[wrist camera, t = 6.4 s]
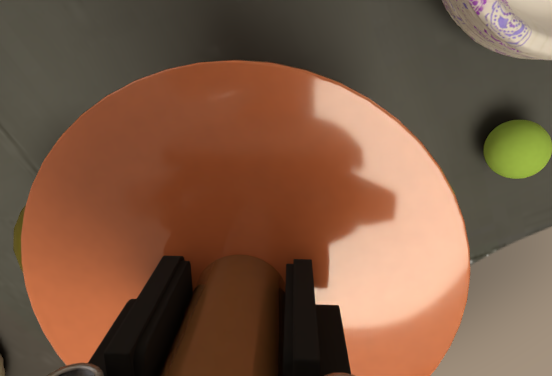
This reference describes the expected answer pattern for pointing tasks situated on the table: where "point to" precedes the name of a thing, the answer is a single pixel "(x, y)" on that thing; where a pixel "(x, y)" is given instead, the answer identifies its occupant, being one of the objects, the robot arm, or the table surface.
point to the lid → (247, 220)
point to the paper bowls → (507, 25)
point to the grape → (517, 149)
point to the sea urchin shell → (1, 367)
